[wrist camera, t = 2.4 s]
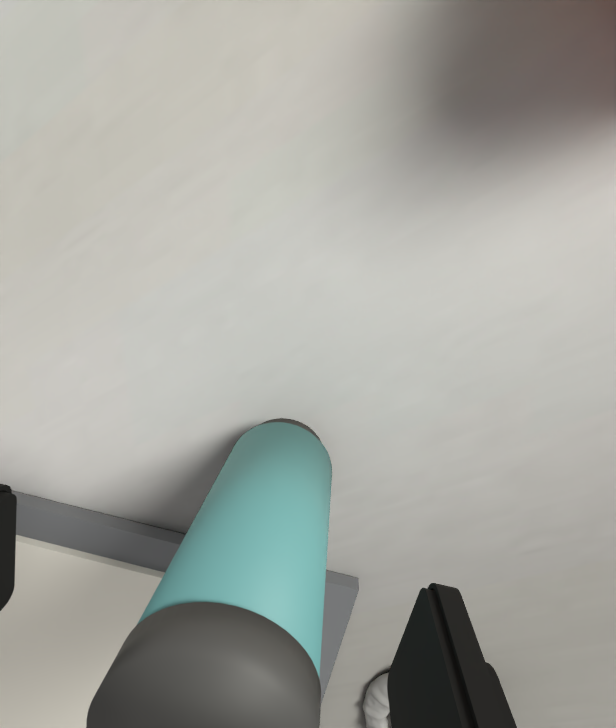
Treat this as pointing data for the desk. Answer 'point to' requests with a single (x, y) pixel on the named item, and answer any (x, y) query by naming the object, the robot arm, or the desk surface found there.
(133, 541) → the clipboard
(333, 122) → the desk surface
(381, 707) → the seahorse
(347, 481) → the desk surface
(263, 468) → the marker
